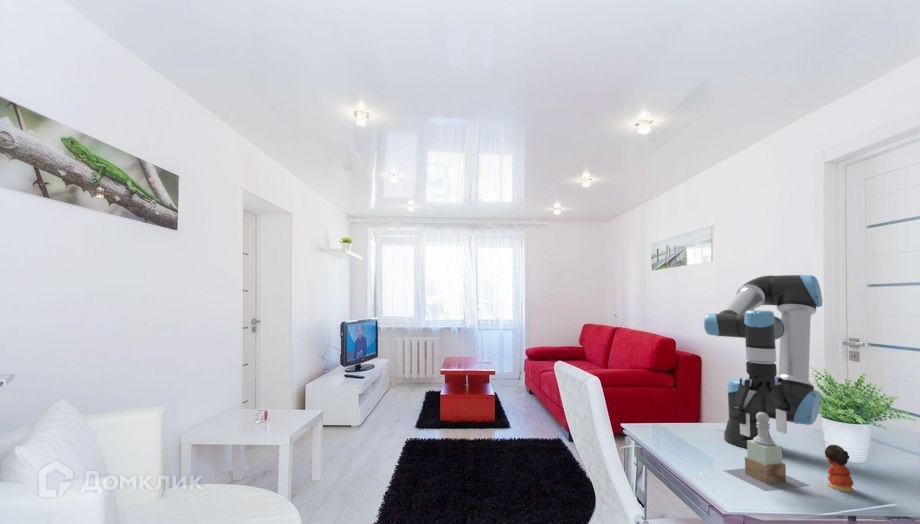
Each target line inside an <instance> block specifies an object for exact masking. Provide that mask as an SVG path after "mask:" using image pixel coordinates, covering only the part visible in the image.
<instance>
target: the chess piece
mask: <svg viewBox="0 0 920 524" xmlns="http://www.w3.org/2000/svg"><path fill="white" fill-rule="evenodd" d="M756 419H757V422H756V424H757V426H756V427H757V428H758V436H756V437H755V438H753V441H754V442H755V443H758V444H761V445H766V446H773V445H775V444H776V442H775V441H774V440H773V438H772V437H771V438H772V439H771V438H769V433H770V428H771V427H770V423H769V422H770V418H769V416H768V415H767V414H766V413H764V412H759V413H757V414H756Z"/></svg>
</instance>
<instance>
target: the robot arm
mask: <svg viewBox="0 0 920 524" xmlns="http://www.w3.org/2000/svg"><path fill="white" fill-rule="evenodd" d="M822 295H823V294H822V290H821V287H820V283H819V280H818V279H817V277H815V276H814V275H811V274H809V275H808V274H793V275H791V274H789V275H787V274H785V275H781V274H780V275H764V276H763V275H762V276H759V277H755V278H754V279H751V280H749V281H747V282H745V283H743V284H742V285H741V286H740V287H738V289H737V290H736V295H734V297H733V298H732V299H731V300H730V301H729V303H727V304H726V306H725V307H724V308H723V309H722V310H721V311H720V312H719V313H708V314H706V316H704V320H703V326H704V331H705V332H706V334H707V335H708V336H715V337H723V338H724V337H726V338H741V339H742V338H743V339H745V359H746V360H747V361H746V363H745V365H746V369H745V370H746V374H747V375H748V377H747V378H746V377H744V378H743V377H741V378H733V379H731V380H729V381H728V383H727V402H728V404H727V405H728V406H727V408H728V420H727V424H726V426H725V430H724V431H723V440H724V441H726V442H727V443H729V444H731V445H733V446H737V447H741V448H745V449H747V440H753V438H755V437H756V436H758V428H757V427H756V426H757V424H756V422H757V419H756V414H757V413H759V412H764V413H766V414H767V415H768V416H769V419H772V420H775V427H776V428H775V429H776V432H779V433H782V434H788V427H787V422H789V423H794V424H796V425H798V424H800V425H805V426H807V425H808V426H809V425H810V426H811V425H813V424H814V423H815V422H816V421H817V418H818V416H819V412H820V408H821V407H820V406H821V395H820V392H819V391H816V390H815V385H814V384H812V382H810V379H809V378H810V375H809V373H810V349H811V343H810V342H811V322H812V321H811V319H812V317H811V316H812V315H814V314H816V313H817V308H821V307H822V306H823V296H822ZM761 306H776V309H777V310H778V311H779V313H780V314H781V317H778V316H775V312H773V311H771V310H756V309H757V308H760V307H761ZM776 340H779V354H778V355H779V356H778V372H777V364H776V362H777V349H776ZM769 438H771V439H772V440H773V437H771V434H770V432H769Z"/></svg>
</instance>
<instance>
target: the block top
mask: <svg viewBox="0 0 920 524" xmlns="http://www.w3.org/2000/svg"><path fill="white" fill-rule="evenodd" d="M746 450H747V451H746V452H747V456H746V457H748V458H750V459H752V460H755V461H757V462H760V463H762V464H764V465H772V464H782V463H783V450H782V445H781V444H777V443H775V445H773V446H766V445H761V444H758V443H755V442H754V441H753V440H747V448H746Z"/></svg>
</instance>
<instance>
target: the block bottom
mask: <svg viewBox="0 0 920 524" xmlns="http://www.w3.org/2000/svg"><path fill="white" fill-rule="evenodd" d="M744 468H745V474H747V475H749V476H751V477H753V478H755V479H757V480H759V481H762V482H764V483H766V484H770V483H779V482H786V475H787V473H786V463H785V462H784V463H783V462H782V464H772V465H764V464H762V463H760V462H757V461H755V460H752V459H750V458H748V456H744Z"/></svg>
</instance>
